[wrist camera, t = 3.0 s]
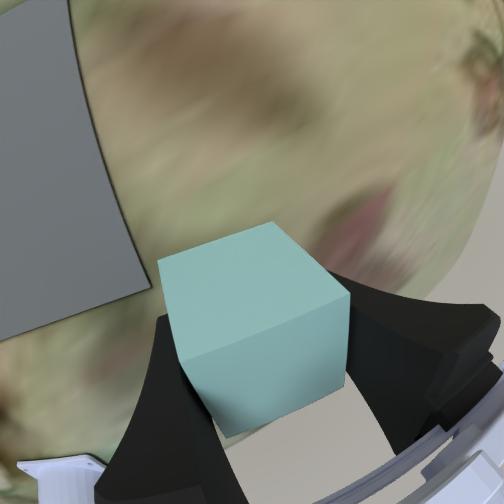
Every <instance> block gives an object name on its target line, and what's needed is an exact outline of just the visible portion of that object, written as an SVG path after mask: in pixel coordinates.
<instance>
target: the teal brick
mask: <svg viewBox="0 0 504 504" xmlns="http://www.w3.org/2000/svg"><path fill="white" fill-rule="evenodd" d="M157 261H158V266H159V272H160V277H161V283H162V288H163V293H164V298H165V302H166V307H167V312H168V316H169V321H170V325H171V330H172V334H173V338H174V342H175V347H176V351H177V355H178V359H179V362H180V364H181V366H182V368H183V370H184V371H185V373H186V375H187V377H188V378H189V380H190V382H191V383H192V385H193V387H194V388H195V390H196V392H197V393H198V395H199V397H200V398H201V400H202V402H203V403H204V405H205V407H206V408H207V410H208V411H209V413H210V415H211V416H212V418H213V419H214V421H215V422H216V424H217V425H218V427H219V428H220V430H221V431H222V433H223V434H224V436H225V437H226V439H227V438H229V437H232V436H235V435H238V434H240V433H243V432H246V431H248V430H251V429H254V428H256V427H259V426H261V425H264V424H266V423H269V422H271V421H273V420H276V419H278V418H280V417H283V416H285V415H287V414H289V413H292V412H294V411H296V410H298V409H300V408H303V407H305V406H307V405H309V404H311V403H313V402H315V401H317V400H319V399H321V398H323V397H325V396H327V395H329V394H331V393H333V392H335V391H337V390H339V389H341V388H342V387H344V381H345V371H346V360H347V347H348V332H349V313H350V292H349V291H348V290H346V289H345V288H344V287H343V286H342V285H341V284H340V283H339V282H338V281H337V280H336V279H335V278H334V277H333V276H332V275H330V274H329V273H328V272H327V271H326V270H325V269H324V268H323V267H322V266H321V265H320V264H319V263H318V262H316V261H315V260H314V259H313V258H312V257H311V256H310V255H309V254H308V253H307V252H306V251H304V250H303V249H302V248H301V247H300V246H299V245H298V244H297V243H296V242H295V241H293V240H292V239H291V238H290V237H289V236H288V235H287V234H286V233H285V232H283V231H282V230H281V229H280V228H279V227H278V226H277V225H276V224H274V223H273V222H272V221H271V222H268V223H265V224H262V225H259V226H256V227H253V228H250V229H247V230H244V231H241V232H238V233H235V234H232V235H229V236H226V237H223V238H220V239H218V240H215V241H212V242H209V243H206V244H203V245H200V246H197V247H194V248H191V249H188V250H186V251H183V252H180V253H177V254H174V255H171V256H168V257H165V258H163V259H160V260H157Z"/></svg>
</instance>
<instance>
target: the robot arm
mask: <svg viewBox="0 0 504 504" xmlns="http://www.w3.org/2000/svg"><path fill="white" fill-rule="evenodd" d="M325 270H326V269H325ZM326 271H327V272H328V273H329V274H330V275H332V276H333V277H334V278H335V279H336V280H337V281H338V282H339V283H340V284H341V285H342V286H343V287H344V288H345V289H346V290H348V291H349V292H350V313H349V332H348V347H347V360H346V372H347V373H348V374H349V376H350V377H351V379H352V380H353V382H354V383H355V385H356V387H357V388H358V390H359V391H360V393H361V394H362V396H363V397H364V399H365V401H366V402H367V404H368V406H369V407H370V409H371V411H372V412H373V414H374V416H375V417H376V419H377V421H378V423H379V424H380V426H381V428H382V430H383V432H384V434H385V436H386V438H387V440H388V441H389V443H390V445H391V447H392V449H393V452H394V454H395V455H396V457H394V458H393V459H391V460H390V461H388V462H387V463H385V464H384V465H382V466H381V467H379V468H377V469H376V470H374V471H373V472H371V473H369V474H368V475H366V476H364V477H363V478H361V479H359V480H357V481H356V482H354V483H352V484H351V485H348V486H347V487H345V488H343V489H341V490H339V491H338V492H335V493H333V494H331V495H329V496H327V497H326V498H324V499H321V500H319V501H317V502H315V503H313V504H358V503H359V502H361V501H363V500H364V499H366V498H368V497H369V496H371V495H373V494H375V493H376V492H378V491H379V490H381V489H383V488H384V487H386V486H387V485H389V484H390V483H392V482H393V481H395V480H396V479H398V478H399V477H401V476H402V475H404V474H405V473H406V472H408V471H409V470H411V469H412V468H413V467H415V466H416V465H417V464H419V463H420V462H421V461H423V460H424V459H425V458H427V457H428V456H429V455H430V454H432V453H433V452H434V451H435V450H436V449H438V448H439V447H440V446H441V445H442V444H444V443H445V442H446V441H447V440H448V439H449V438H451V437H452V436H453V441H452V442H450V443H449V444H448V445H447V446H446V447H445V448H444V449H443V450H442V451H441V452H440V453H438V455H437V456H436V457H435V458H434V459H433V460H432V461H431V462H430V463H429V464H428V465H427V466H426V467H425V468H424V469H422V470H421V474H422V475H423V477H424V478H425V479H426V483H425V484H423V485H422V486H421V487H420V488H418V489H417V490H416V491H414V492H413V493H412V494H410V495H408V496H407V497H406V498H404V499H403V500H401V501H400V502H398V503H397V504H504V470H503V469H502V468H501V467H500V466H501V465H502V463H503V462H504V360H503V362H502V363H501V364H500V365H499V366H498V367H497V366H496V365H495V364H494V363H493V362H492V361H491V360H492V359H493V355H492V354H491V353H489V351H488V350H489V348H490V346H491V344H492V342H493V340H494V338H495V336H496V334H497V332H498V329H499V327H500V324H501V322H500V321H501V320H500V317H499V316H498V315H497V314H496V313H494V312H493V311H492V310H491V309H489V308H488V307H487V306H485V305H484V304H449V303H437V302H429V301H423V300H417V299H412V298H407V297H402V296H399V295H395V294H391V293H387V292H384V291H380V290H377V289H374V288H371V287H368V286H365V285H363V284H360V283H357V282H355V281H352V280H350V279H347V278H345V277H342V276H340V275H337V274H335V273H333V272H330V271H328V270H326ZM17 467H18V468H20V469H21V470H23V471H24V472H26V473H28V474H29V475H31V476H32V477H34V478H36V479H38V497H39V504H249V503H248V501H247V499H246V497H245V495H244V493H243V491H242V489H241V487H240V485H239V483H238V481H237V479H236V476H235V474H234V472H233V470H232V468H231V465H230V463H229V461H228V459H227V456H226V454H225V452H224V449H223V447H222V445H221V442H220V440H219V437H218V435H217V432H216V430H215V427H214V424H213V420H212V417H211V415H210V413H209V411H208V410H207V408H206V407H205V405H204V403H203V402H202V400H201V398H200V397H199V395H198V393H197V392H196V390H195V388H194V387H193V385H192V383H191V382H190V380H189V378H188V377H187V375H186V373H185V371H184V370H183V368H182V366H181V364H180V362H179V359H178V355H177V351H176V347H175V342H174V338H173V334H172V330H171V325H170V321H169V316H168V314H165V315H163V316H160V317H158V319H157V322H156V331H155V337H154V343H153V348H152V352H151V357H150V362H149V366H148V370H147V373H146V377H145V381H144V384H143V388H142V391H141V394H140V397H139V400H138V403H137V405H136V408H135V411H134V413H133V416H132V418H131V420H130V423H129V425H128V428H127V430H126V432H125V434H124V436H123V438H122V440H121V442H120V444H119V446H118V448H117V449H116V451H115V453H114V455H113V457H112V459H111V460H110V462H109V464H108V465H107V466H105V465H104V464H102V463H101V462H99V461H98V460H96V459H95V458H93V457H92V456H90V455H78V456H71V457H64V458H56V459H47V460H36V461H21V462H17Z"/></svg>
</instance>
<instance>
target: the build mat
mask: <svg viewBox="0 0 504 504" xmlns="http://www.w3.org/2000/svg"><path fill="white" fill-rule="evenodd" d="M150 287H151V286H150V283H149V281H148V278H147V276H146V274H145V271H144V269H143V267H142V264H141V262H140V260H139V257H138V255H137V252H136V250H135V248H134V245H133V243H132V240H131V238H130V235H129V232H128V230H127V227H126V225H125V222H124V219H123V217H122V214H121V211H120V209H119V206H118V203H117V200H116V198H115V195H114V192H113V189H112V186H111V183H110V180H109V177H108V174H107V171H106V168H105V165H104V162H103V159H102V155H101V152H100V149H99V146H98V142H97V139H96V135H95V132H94V128H93V125H92V121H91V117H90V114H89V110H88V106H87V102H86V98H85V94H84V89H83V85H82V81H81V76H80V72H79V67H78V62H77V57H76V52H75V47H74V41H73V35H72V29H71V23H70V16H69V8H68V0H28V1H26V2H24V3H22V4H21V5H19V6H17V7H15V8H13V9H11V10H10V11H8V12H6V13H4V14H3V15H1V16H0V341H1V340H4V339H6V338H9V337H12V336H15V335H18V334H21V333H23V332H26V331H29V330H32V329H35V328H37V327H40V326H43V325H46V324H49V323H51V322H54V321H57V320H60V319H63V318H66V317H68V316H71V315H74V314H77V313H80V312H82V311H85V310H88V309H91V308H94V307H97V306H99V305H102V304H105V303H108V302H111V301H113V300H116V299H119V298H122V297H125V296H128V295H130V294H133V293H136V292H139V291H142V290H144V289H147V288H150Z"/></svg>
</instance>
